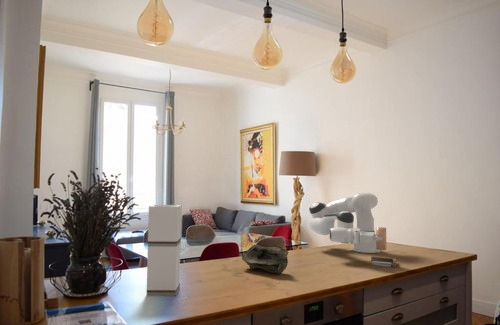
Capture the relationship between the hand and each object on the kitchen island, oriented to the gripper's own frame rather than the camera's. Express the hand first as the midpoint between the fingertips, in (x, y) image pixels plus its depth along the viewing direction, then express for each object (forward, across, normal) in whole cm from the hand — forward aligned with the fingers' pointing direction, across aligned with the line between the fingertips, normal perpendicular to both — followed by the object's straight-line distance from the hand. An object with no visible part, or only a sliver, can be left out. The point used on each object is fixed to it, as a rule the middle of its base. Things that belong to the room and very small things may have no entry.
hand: (382, 237), depth 209 cm
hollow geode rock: (-54, +43, -16) cm, 71 cm away
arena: (0, -1, -15) cm, 15 cm away
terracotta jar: (-1, 0, -6) cm, 7 cm away
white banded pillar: (-80, +94, -15) cm, 125 cm away
